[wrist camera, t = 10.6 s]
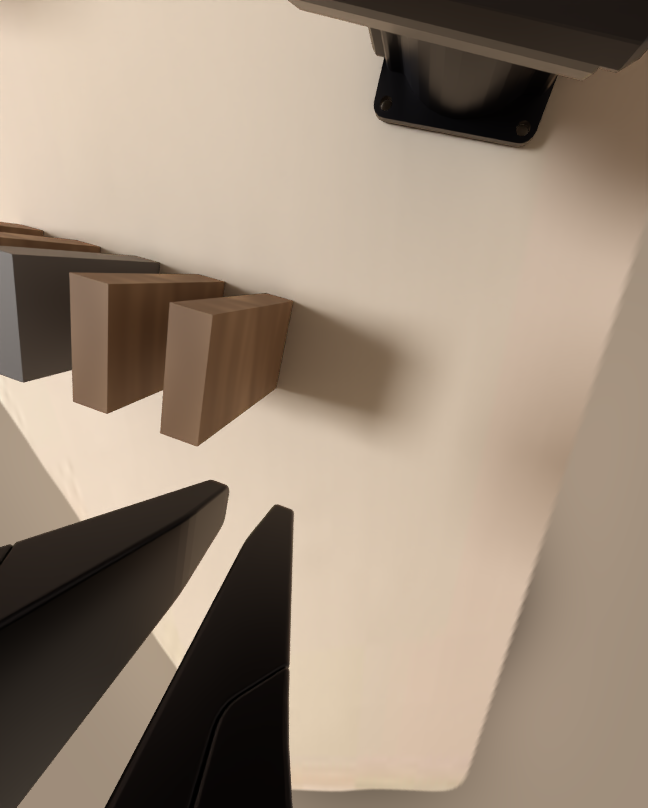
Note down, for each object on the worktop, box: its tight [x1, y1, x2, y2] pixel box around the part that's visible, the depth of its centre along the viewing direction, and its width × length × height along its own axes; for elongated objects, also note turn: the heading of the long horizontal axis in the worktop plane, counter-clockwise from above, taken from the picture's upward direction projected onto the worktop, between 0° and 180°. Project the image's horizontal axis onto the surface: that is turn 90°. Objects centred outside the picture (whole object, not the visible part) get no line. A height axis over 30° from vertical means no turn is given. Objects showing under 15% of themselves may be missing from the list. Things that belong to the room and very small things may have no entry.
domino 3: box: [160, 293, 293, 446], centre depth 17 cm, size 2×5×8 cm, turn 166°
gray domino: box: [0, 246, 160, 382], centre depth 18 cm, size 2×5×8 cm, turn 166°
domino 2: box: [69, 272, 225, 414], centre depth 17 cm, size 2×5×8 cm, turn 166°
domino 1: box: [0, 232, 100, 253], centre depth 18 cm, size 2×5×8 cm, turn 166°
